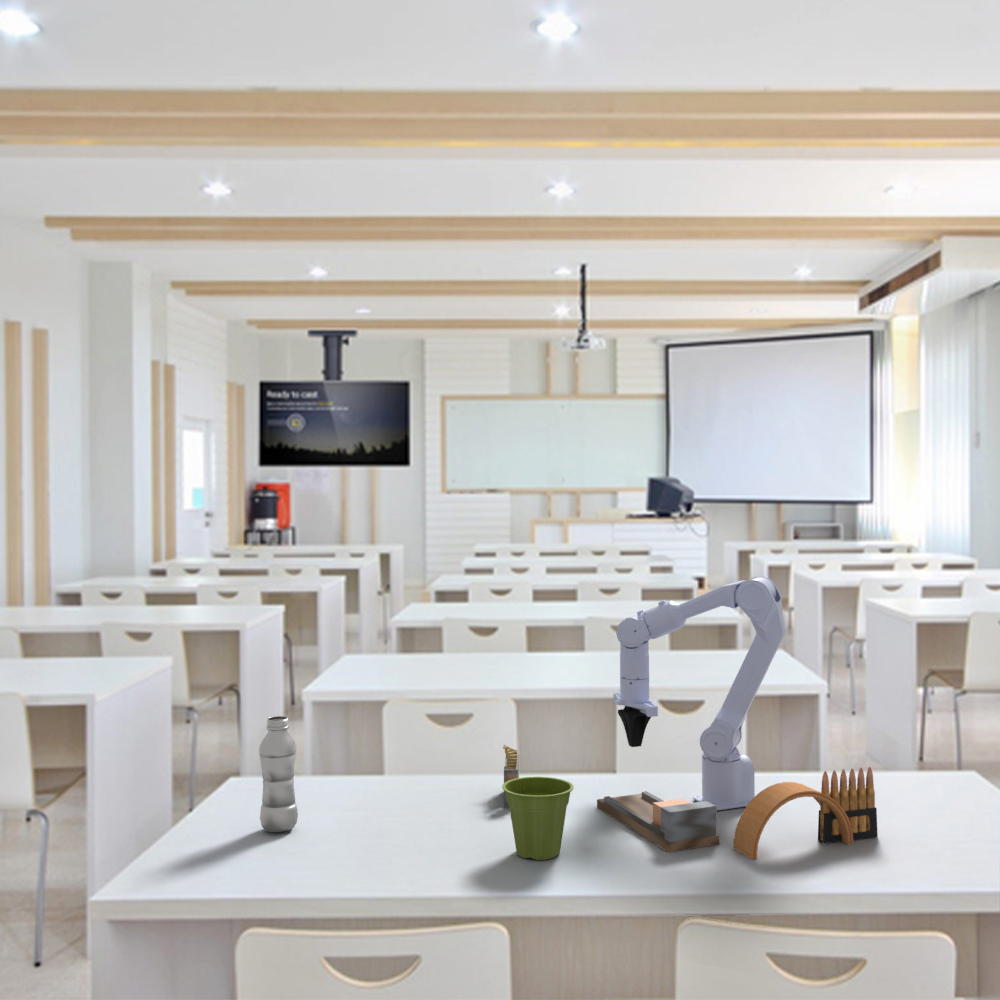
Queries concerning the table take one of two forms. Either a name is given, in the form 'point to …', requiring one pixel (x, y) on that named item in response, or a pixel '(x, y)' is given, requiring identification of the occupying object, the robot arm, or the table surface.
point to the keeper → (658, 806)
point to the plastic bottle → (278, 777)
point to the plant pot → (538, 814)
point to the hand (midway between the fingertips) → (635, 745)
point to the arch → (771, 801)
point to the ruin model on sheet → (510, 768)
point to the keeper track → (648, 814)
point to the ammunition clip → (849, 806)
